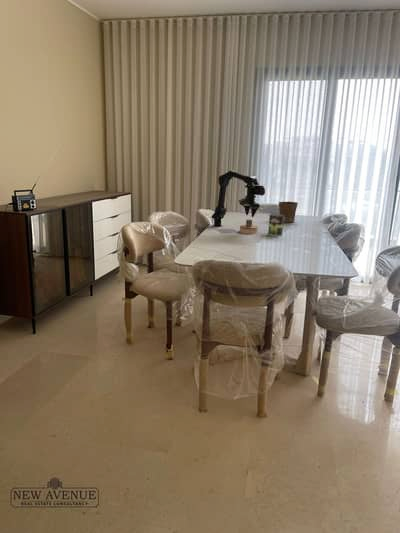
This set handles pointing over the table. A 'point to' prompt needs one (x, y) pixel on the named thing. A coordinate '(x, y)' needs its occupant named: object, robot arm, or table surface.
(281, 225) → the coffee can
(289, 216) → the plant pot
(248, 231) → the bowl
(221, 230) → the mat
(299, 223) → the table surface
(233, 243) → the table surface
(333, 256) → the table surface
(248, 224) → the lid
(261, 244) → the table surface
